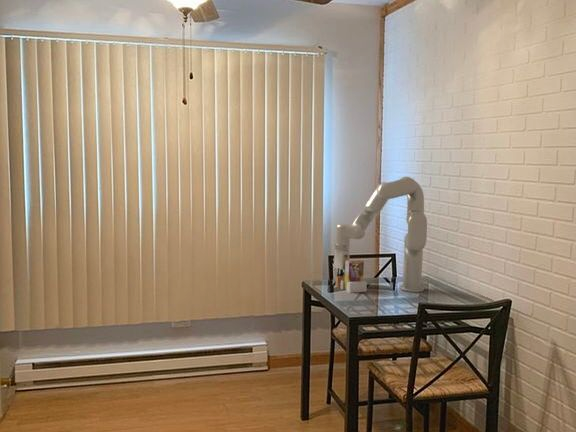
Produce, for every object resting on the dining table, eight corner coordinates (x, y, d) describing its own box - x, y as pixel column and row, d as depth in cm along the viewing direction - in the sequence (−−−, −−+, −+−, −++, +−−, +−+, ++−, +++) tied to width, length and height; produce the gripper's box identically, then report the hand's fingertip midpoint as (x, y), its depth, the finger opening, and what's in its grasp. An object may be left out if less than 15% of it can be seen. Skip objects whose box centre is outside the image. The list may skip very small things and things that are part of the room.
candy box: (358, 288, 316) (360, 259, 314) (362, 290, 312) (364, 261, 310) (343, 289, 312) (345, 260, 310) (347, 291, 308) (349, 261, 306)
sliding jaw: (350, 284, 324) (350, 275, 323) (359, 288, 316) (359, 278, 315) (333, 285, 320) (334, 276, 319) (342, 289, 312) (342, 279, 311)
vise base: (347, 284, 330) (348, 273, 330) (369, 293, 310) (370, 281, 310) (325, 285, 324) (325, 274, 324) (346, 295, 305) (346, 283, 304)
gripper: (355, 249, 316) (353, 284, 319) (341, 244, 330) (339, 278, 332) (342, 249, 314) (340, 284, 316) (329, 245, 327) (327, 278, 329)
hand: (340, 281), depth 324 cm, fingers closed
